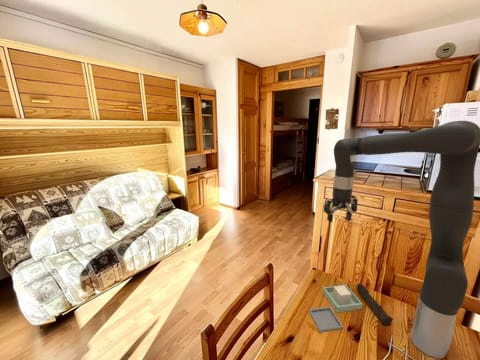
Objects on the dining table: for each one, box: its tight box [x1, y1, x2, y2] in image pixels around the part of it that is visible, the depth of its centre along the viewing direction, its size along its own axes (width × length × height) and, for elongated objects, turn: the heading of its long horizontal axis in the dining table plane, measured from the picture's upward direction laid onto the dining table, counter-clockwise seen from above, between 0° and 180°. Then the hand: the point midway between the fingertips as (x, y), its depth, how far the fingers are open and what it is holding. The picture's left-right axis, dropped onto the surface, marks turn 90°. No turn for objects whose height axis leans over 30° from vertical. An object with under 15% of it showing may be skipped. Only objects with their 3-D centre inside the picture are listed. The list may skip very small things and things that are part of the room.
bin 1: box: [308, 306, 344, 333], centre depth 82 cm, size 9×9×2 cm
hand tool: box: [356, 283, 393, 326], centre depth 89 cm, size 19×4×5 cm, turn 1°
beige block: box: [333, 285, 351, 305], centre depth 91 cm, size 5×5×5 cm
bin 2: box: [322, 284, 364, 313], centre depth 91 cm, size 11×11×3 cm
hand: (339, 221), depth 93 cm, fingers open, 8 cm apart
